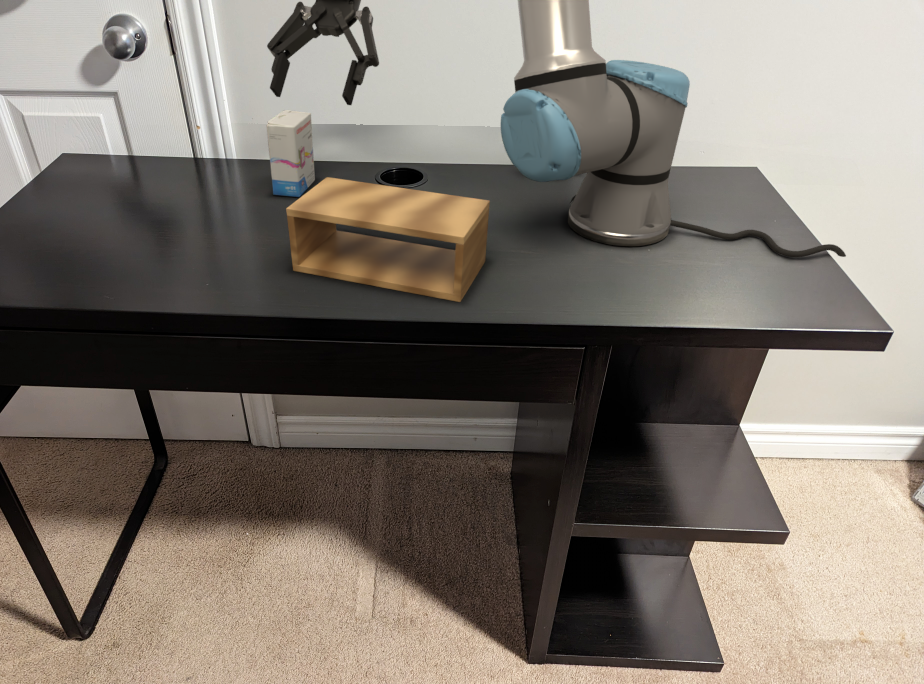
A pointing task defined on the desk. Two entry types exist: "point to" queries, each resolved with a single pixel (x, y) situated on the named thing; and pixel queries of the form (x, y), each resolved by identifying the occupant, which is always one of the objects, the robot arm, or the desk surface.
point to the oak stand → (385, 258)
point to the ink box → (291, 152)
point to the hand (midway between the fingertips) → (310, 96)
